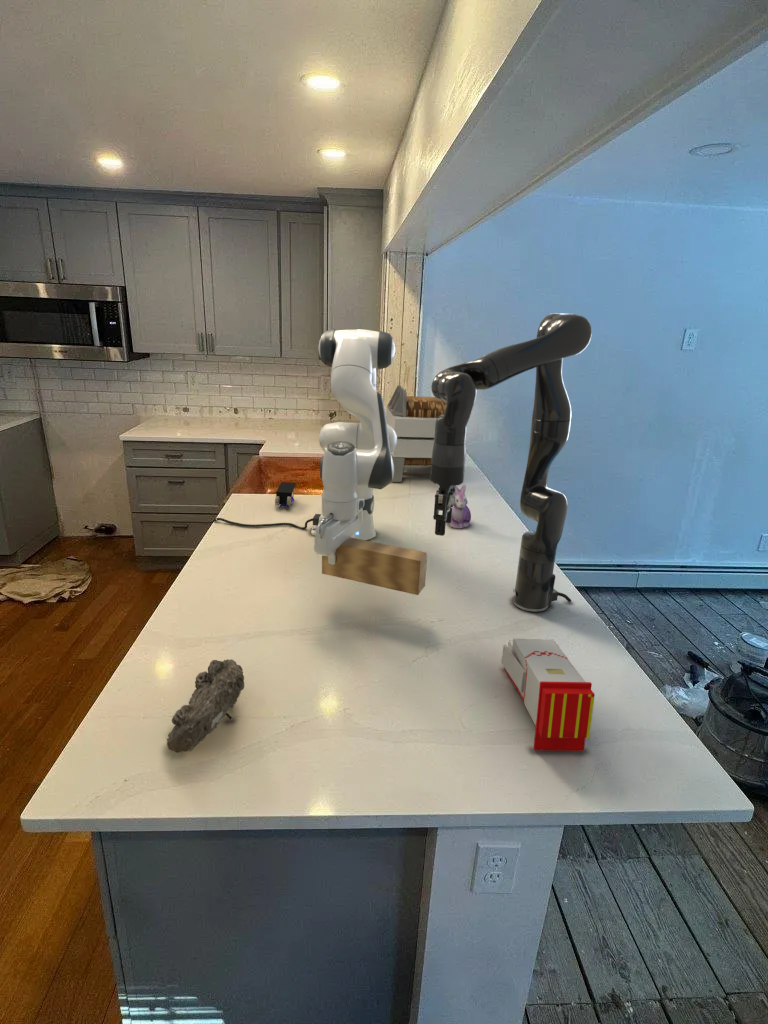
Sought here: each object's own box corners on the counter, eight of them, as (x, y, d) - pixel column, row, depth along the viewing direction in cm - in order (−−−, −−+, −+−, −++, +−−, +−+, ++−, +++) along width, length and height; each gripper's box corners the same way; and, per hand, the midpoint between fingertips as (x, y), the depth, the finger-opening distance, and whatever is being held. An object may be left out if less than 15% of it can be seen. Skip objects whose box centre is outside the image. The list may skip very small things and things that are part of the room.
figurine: (456, 530, 205) (460, 491, 199) (441, 521, 213) (444, 483, 208) (477, 527, 209) (481, 488, 204) (461, 518, 217) (465, 480, 212)
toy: (549, 621, 128) (604, 690, 99) (544, 676, 131) (595, 758, 101) (496, 620, 128) (535, 688, 98) (492, 675, 130) (528, 757, 101)
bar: (321, 573, 146) (321, 540, 143) (331, 565, 151) (331, 533, 148) (418, 595, 137) (420, 560, 134) (424, 586, 142) (427, 552, 139)
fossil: (192, 660, 117) (244, 628, 112) (224, 691, 120) (276, 661, 115) (142, 746, 98) (202, 712, 93) (182, 779, 101) (242, 748, 96)
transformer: (382, 463, 289) (386, 382, 275) (445, 464, 293) (451, 384, 279) (390, 482, 257) (394, 392, 243) (460, 483, 261) (468, 394, 247)
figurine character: (292, 514, 217) (296, 498, 230) (291, 496, 214) (296, 480, 227) (274, 514, 217) (280, 497, 230) (273, 496, 213) (279, 480, 227)
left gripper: (331, 523, 131) (331, 577, 136) (367, 498, 149) (365, 546, 154) (307, 519, 133) (308, 571, 138) (345, 494, 151) (344, 541, 156)
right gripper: (459, 471, 120) (453, 541, 126) (469, 456, 133) (463, 520, 139) (425, 467, 122) (421, 537, 128) (437, 452, 135) (433, 516, 141)
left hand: (338, 558), depth 146 cm, fingers closed on bar, 5 cm apart
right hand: (443, 528), depth 133 cm, fingers open, 8 cm apart
